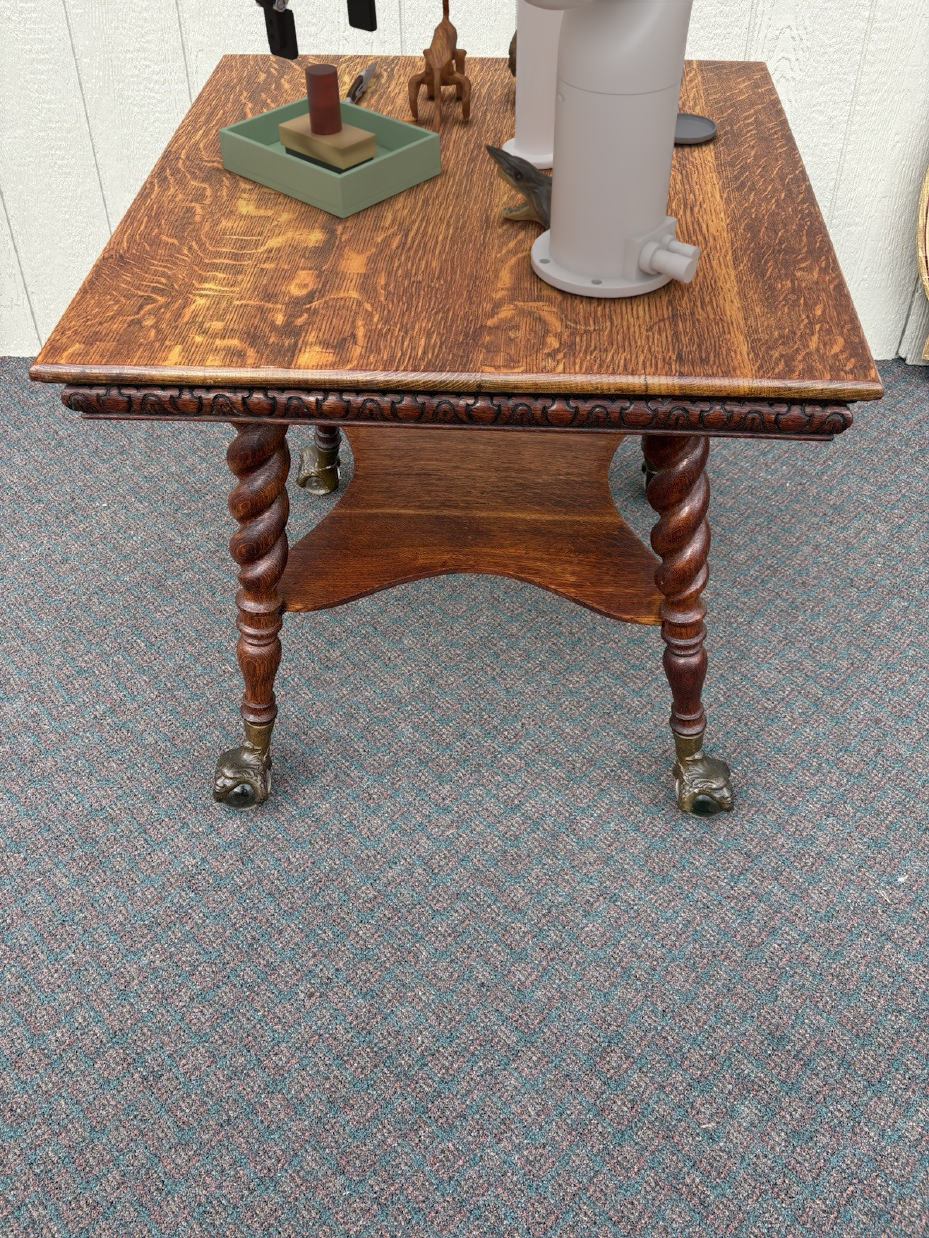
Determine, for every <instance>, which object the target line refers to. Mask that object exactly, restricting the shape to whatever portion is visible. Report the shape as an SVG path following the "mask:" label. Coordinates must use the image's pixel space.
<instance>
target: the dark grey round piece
mask: <svg viewBox="0 0 929 1238" xmlns="http://www.w3.org/2000/svg"><path fill="white" fill-rule="evenodd" d="M683 78H684V75H683V76H682V78H681V86H680V88H681V87H682V83H683ZM717 131H718V125H717V123H716V122H715V121H714V120H713V119H711V118H710V117H707V116H704V115H700V114H695V113H690V112H689V113H688V112H678V113H677V122H676V130H675V139H674V144H681V145H682V144H683V145H688V144H689V145H690V144H692V145H693V144H698V143H703V142H707V141H709V140H711V139H712V138H714V137H715V135H716V134H717Z"/></svg>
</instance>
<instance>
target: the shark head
mask: <svg viewBox="0 0 929 1238" xmlns="http://www.w3.org/2000/svg"><path fill="white" fill-rule="evenodd" d="M484 149H485V150H486V151H487V153H488V155H489V156H490V158H491V159H492V160H493V162H494V163H495V164H496V165H497V166H498V167H497V169H496V174H497V175H496V176H497V177H498V178H499V179H500V180H501V181H502V182H505V183H506V184H507V185H508V186H510V187H511V189H514V191H515V193H518V194H519V195H522V196H524V197H525V199H526V200H524V201H522V202H521V203H518V205H516V204H515V205H514V206H513V207H512V206H508V207H504V208H503V210H502V211H501V216H502V218H505V219H510V220H513V221H526V220H528V221H531V222H537V223H539V224H540V225H541V226H542V227H543V228H544V229H545V232H546V231H547V230H549V229H550V219H551V195H552V175H548V174H547V173H545V172H542V171H541V169H537V168H536V167H535V166H533V165H532V164H531V163H530V162H529V161H527V160H525V159H523V158H521V157H518V156H513V155H511V154H509V153H508V152H506V151H504V150H502V148H498V147H497V146H493V145H490V144H486V145H485V146H484Z"/></svg>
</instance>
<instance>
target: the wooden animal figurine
mask: <svg viewBox="0 0 929 1238" xmlns="http://www.w3.org/2000/svg"><path fill="white" fill-rule="evenodd" d="M441 4H442V18H441V21H440V22H439V23H438V24H437V26H436V27H435V28H434V30H433V35H432V39H431V42H430V46H429V48H424V49H423V51H422V56H423V57H424V58H425V64H424V70H423V71H422V72H420V73H416V74H413V76H411V77H410V78H409V79H408V83H407V92H408V103H409V108H410V112H411V117H413V119H415V120H418V119H419V106H418V105H419V104H418V98H419V95H420V90H421V87H422V85H425V86H426V93H427V96H428V97H429V98H433V102H434V103H433V122H432V130H431V131H432V132H435V133H438V134H440V129H441V121H442V120H441V118H442V87H451V86H455V96H456V98H460V99H461V113H462V117H463V120H464V121H466V120H468V119H469V118H470V115H471V91H472V83H471V79H470V78H469V77H468V76H467V75H466V62H465V61H466V57H467V54H468V52H467V50H466V49H465V48H457V45H458V44H457V43H458V40H459V39H458V38H459V37H458V30H457V28H456V27H455V25H453V23H452V22H451V21H450V0H442V1H441ZM453 61H454V63H455V64H454V63H453ZM454 65H455V66H454ZM454 67H455V68H454Z"/></svg>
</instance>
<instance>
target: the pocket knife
mask: <svg viewBox="0 0 929 1238" xmlns="http://www.w3.org/2000/svg"><path fill="white" fill-rule="evenodd" d="M377 66H378V60H377V61H374V62H373V63H371V64H370V65H369V66H368V67H367V68H364V69H363V70H362V71H360V72H359V74H358V76H356V78H355V79H354V81H353V82H352V84H351V85H350V87H349V88H348V91H347V93H346V94H345V99H344V101H346V102H349V103H352V104H355V105H356V102H357V101H358V99H359V98H362V96H363V92H367V89H368V84H370V82H371V81H372V80H373V78H374V76H375V74H376V71H377Z"/></svg>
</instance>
